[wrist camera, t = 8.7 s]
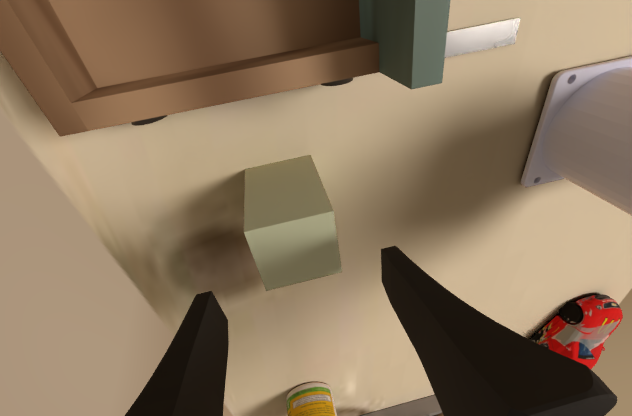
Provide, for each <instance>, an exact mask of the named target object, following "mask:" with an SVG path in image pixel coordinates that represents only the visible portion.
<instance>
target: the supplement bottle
mask: <svg viewBox="0 0 632 416" xmlns="http://www.w3.org/2000/svg"><path fill="white" fill-rule="evenodd" d="M286 402H287V413H288V416H337V414H336V409H335V404H334V399H333V395H332V391H331V388H330V387H329V386H328V385H327V384H324V383H320V382H311V383H306V384H303V385H300V386H298V387H296V388H294V389H293V390H292V391H290V392H289V394H288V395H287V399H286Z"/></svg>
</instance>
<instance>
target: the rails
mask: <svg viewBox="0 0 632 416" xmlns="http://www.w3.org/2000/svg"><path fill="white" fill-rule="evenodd" d="M519 23H520V18H513V19H508V20H503V21H498V22H493V23H488V24H483V25H477V26H472V27H467V28H462V29H457V30H452V31H447V38H446V48H445V58H446V57H451V56H456V55H461V54H466V53H471V52H476V51H481V50H486V49H491V48H496V47H501V46H506V45H511V44H515V41H516V36H517V32H518V27H519Z"/></svg>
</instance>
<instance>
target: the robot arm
mask: <svg viewBox="0 0 632 416" xmlns="http://www.w3.org/2000/svg"><path fill="white" fill-rule="evenodd" d="M569 77H570V78H569ZM568 79H569V80H568ZM564 178H565V179H567V180H569V181H571V182H573V183H574V184H576V185H578V186H580V187H582V188H583V189H585V190H587V191H589V192H590V193H592V194H594V195H596V196H598V197H599V198H601V199H603V200H605V201H607V202H608V203H610V204H612V205H614V206H616V207H617V208H619V209H621V210H623V211H625V212H626V213H628V214H630V215H632V56H629V57H625V58H620V59H615V60H610V61H606V62H601V63H596V64H591V65H587V66H582V67H577V68H572V69H568V70H563V71H560V72H558V73H557V74H556V75H555V76H554V77H553V79H552V81H551V85H550V88H549V91H548V94H547V98H546V101H545V104H544V107H543V111H542V114H541V117H540V120H539V124H538V127H537V130H536V133H535V137H534V140H533V143H532V146H531V150H530V153H529V156H528V159H527V163H526V166H525V169H524V173H523V176H522V179H521V184H522V185H523V186H525V187H531V186H535V185H539V184H543V183H548V182H552V181H556V180H560V179H564ZM381 265H382V283H383V285H384V288H385V291H386V293H387V296H388V298H389V300H390V303H391V305H392V307H393V309H394V311H395V312H396V314H397V316H398V318H399V320H400V322H401V324H402V326H403V327H404V329H405V331H406V333H407V335H408V337H409V339H410V341H411V342H412V344H413V346H414V348H415V350H416V352H417V354H418V356H419V358H420V360H421V362H422V365H423V367H424V369H425V372H426V374H427V376H428V379H429V381H430V383H431V386H432V388H433V391H434V393H435V396H436V398H437V401H438V403H439V405H440V408H441V410H442V413H443V415H444V416H604V415H606V414H607V413H608V412H609V411H610V410H611V409H612V408H613V407H614V406H615V405H616V403H617V396H616V395H615V394H614V393H613V392H612V391H611V390H610V389H609V388H608V387H607V386H606V385H605V383H604V382H603V381H602V380H601V379H600V378H599V377H598V376H597V375H596V374H595V373H594V372H593V371H592V370H591V369H590V368H589V367H588V366H586V365H584V364H582V363H580V362H577V361H575V360H573V359H570V358H568V357H566V356H563V355H561V354H559V353H556V352H554V351H552V350H550V349H547V348H545V347H543V346H541V345H539V344H537V343H535V342H533V341H531V340H529V339H527V338H525V337H523V336H521V335H519V334H517V333H516V332H514V331H512V330H510V329H508V328H506V327H504V326H503V325H501V324H499V323H497V322H495V321H494V320H492V319H490V318H489V317H487V316H485V315H484V314H482V313H480V312H479V311H477V310H476V309H474V308H473V307H471V306H470V305H468V304H467V303H465V302H464V301H462V300H461V299H459V298H458V297H456V296H455V295H454V294H452V293H451V292H450V291H448V290H447V289H446V288H444V287H443V286H442V285H440V284H439V283H438V282H437V281H435V280H434V279H433V278H432V277H430V276H429V275H428V274H427V273H425V272H424V271H423V270H422V269H421V268H420V267H418V266H417V265H416V264H415V263H414V262H413V261H412V260H410V259H409V258H408V257H407V256H406V255H405V254H404V253H403V252H402V251H401V250H400V249H399V248H398V247H396V246H392V247H388V248H384V249H381ZM227 357H228V320H227V318H226V316H225V314H224V313H223V311H222V309H221V307H220V305H219V303H218V302H217V300H216V298H215V296H214V294H213V293H212V291H209V292H205V293H201V294H197V295H196V296H195V298H194V300H193V302H192V304H191V306H190V308H189V310H188V312H187V314H186V316H185V318H184V320H183V322H182V324H181V326H180V328H179V330H178V331H177V333H176V335H175V337H174V339H173V341H172V343H171V345H170V346H169V348H168V350H167V352H166V353H165V355H164V357H163V358H162V360H161V362H160V363H159V365H158V367H157V369H156V370H155V372H154V373H153V375H152V377H151V378H150V380H149V381H148V383H147V384H146V386H145V387H144V389H143V391H142V392H141V393H140V395H139V396H138V398H137V399H136V401H135V402H134V404H133V405H132V406H131V408H130V409H129V410H128V412H127V413H126V415H125V416H223V402H224V391H225V380H226V369H227Z"/></svg>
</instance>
